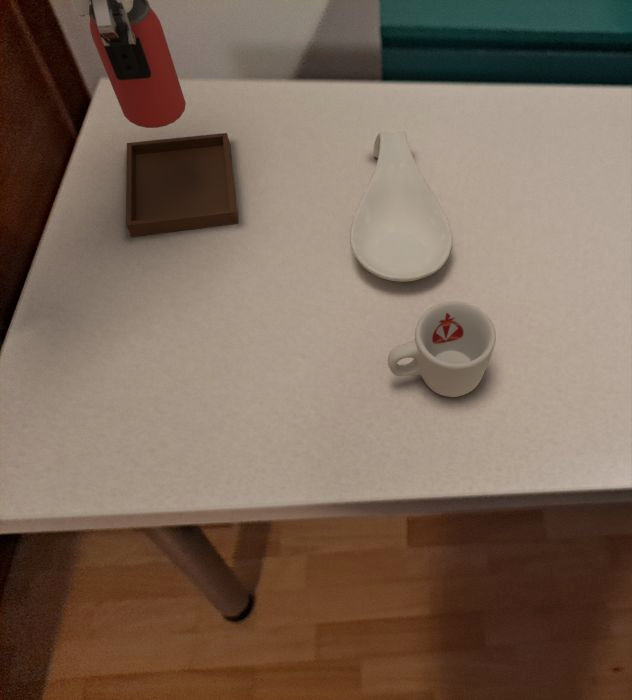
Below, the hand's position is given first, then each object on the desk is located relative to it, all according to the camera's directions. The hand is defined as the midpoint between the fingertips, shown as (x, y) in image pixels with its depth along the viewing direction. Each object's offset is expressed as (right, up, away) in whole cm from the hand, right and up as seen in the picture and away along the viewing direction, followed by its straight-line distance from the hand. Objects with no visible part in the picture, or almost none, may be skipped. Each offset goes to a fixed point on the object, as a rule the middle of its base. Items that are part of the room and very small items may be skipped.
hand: (134, 53), depth 70 cm
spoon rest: (+25, -14, +16) cm, 33 cm away
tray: (-1, -10, +16) cm, 19 cm away
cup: (+31, -33, +4) cm, 45 cm away
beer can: (-1, -4, +6) cm, 7 cm away
